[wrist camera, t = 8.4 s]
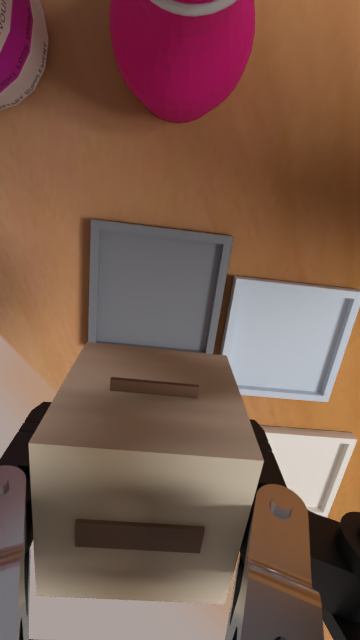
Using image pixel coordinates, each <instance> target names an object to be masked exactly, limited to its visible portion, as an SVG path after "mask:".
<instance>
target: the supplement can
mask: <svg viewBox="0 0 360 640" xmlns="http://www.w3.org/2000/svg"><path fill="white" fill-rule="evenodd" d="M48 42H49V39H48V33H47V27H46V21H45V16H44V10H43V8H42V5H41V3H40V1H39V0H0V110H3V109H6V108H10V107H13V106H17V105H18V104H19V103H21V102H22V101H23V100H24V99H25V98H26V97H27V96H29V95H30V94H31V93H32V92H33V91H34V90H35V88H36V86H37V84H38V82H39V80H40V78H41V76H42V74H43V72H44V70H45V67H46V59H47V50H48Z"/></svg>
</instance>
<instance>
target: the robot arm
mask: <svg viewBox="0 0 360 640" xmlns="http://www.w3.org/2000/svg"><path fill="white" fill-rule="evenodd" d="M51 403H52V402H43V403H41V404H40V405H39V406H37V407H36V408H35V409H33V410H32V411H31V412H30V414H29V415H28V417H27V418H26V420H25V423H23V425H22V426H21V428H20V429H19V432H18V433H17V434H16V436H15V437H14V439H13V440H12V442H11V443H10V445H9V446H8V448H7V449H6V451H5V452H4V454H3V456H2V457H1V459H0V640H31V639H29V634H28V633H29V630H28V629H29V587H30V546H31V543H32V541H33V521H32V502H31V483H30V464H29V445H28V443H29V441H30V439H31V438H32V436H33V434H34V433H35V431H36V429H37V427H38V426H39V424H40V422H41V420H42V419H43V417H44V415H45V413H46V412H47V410H48V408H49V406H50V405H51ZM249 420H250V419H249ZM250 423H251V425H252V428H253V431H254V434H255V437H256V440H257V442H258V445H259V448H260V451H261V454H262V456H263V459H264V463H263V467H262V470H261V474H260V478H259V481H258V485H257V489H256V492H255V496H254V500H253V503H252V507H251V511H250V514H249V518H248V522H247V525H246V529H245V533H244V536H243V540H242V544H241V547H240V556H239V559H238V563H237V569H236V576H235V582H234V588H233V595H232V602H231V607H230V613H229V619H228V626H227V632H226V637H225V640H324V630H323V621H324V623H325V625H326V627H327V628H328V630H329V632H330V634H331V636H332V638H333V639H334V640H360V512H349V513H346V514H345V515H344V516H343V517H342V519H341V522H337V521H335V520H332V519H329V518H326V517H323V516H321V515H318V514H315V513H313V512H311V511H309V510H307V507H306V505H305V503H304V502H303V501H302V499H301V498H300V497H299V496H298V495H297V494H296V493H295V492H293V491H292V490H290V489H288V488H287V486H286V483H285V481H284V479H283V476H282V474H281V471H280V469H279V466H278V464H277V461H276V459H275V456H274V454H273V453H272V449H271V446H270V444H269V443H268V439H267V436H266V434H265V431H264V429H263V428H262V427H261V426H260V425H259V424H258V423H257V422H256V421H255V420H250Z"/></svg>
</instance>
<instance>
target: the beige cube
mask: <svg viewBox="0 0 360 640" xmlns="http://www.w3.org/2000/svg"><path fill="white" fill-rule="evenodd" d="M28 445H29V464H30V483H31V502H32V521H33V540H34V559H35V579H36V596H50V597H74V598H96V599H119V600H143V601H165V602H188V603H211V604H225V602H226V598H227V595H228V591H229V587H230V584H231V580H232V576H233V573H234V569H235V566H236V562H237V558H238V555H239V551H240V547H241V544H242V540H243V536H244V533H245V529H246V525H247V522H248V518H249V514H250V511H251V507H252V503H253V500H254V496H255V492H256V489H257V485H258V481H259V478H260V474H261V470H262V467H263V463H264V459H263V456H262V454H261V451H260V448H259V445H258V442H257V440H256V437H255V434H254V431H253V428H252V425H251V423H250V420H249V417H248V414H247V411H246V409H245V406H244V403H243V400H242V397H241V395H240V392H239V389H238V386H237V383H236V380H235V378H234V375H233V372H232V369H231V366H230V364H229V361H228V358H227V356H226V355H216V354H206V353H195V352H185V351H175V350H165V349H154V348H144V347H134V346H124V345H114V344H103V343H93V342H86V344H85V345H84V347H83V349H82V351H81V352H80V354H79V356H78V358H77V359H76V361H75V363H74V365H73V366H72V368H71V370H70V372H69V373H68V375H67V377H66V379H65V380H64V382H63V384H62V386H61V387H60V389H59V391H58V392H57V394H56V396H55V398H54V399H53V401H52V403H51V405H50V406H49V408H48V410H47V412H46V413H45V415H44V417H43V419H42V420H41V422H40V424H39V426H38V427H37V429H36V431H35V433H34V434H33V436H32V438H31V439H30V441H29V443H28Z"/></svg>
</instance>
